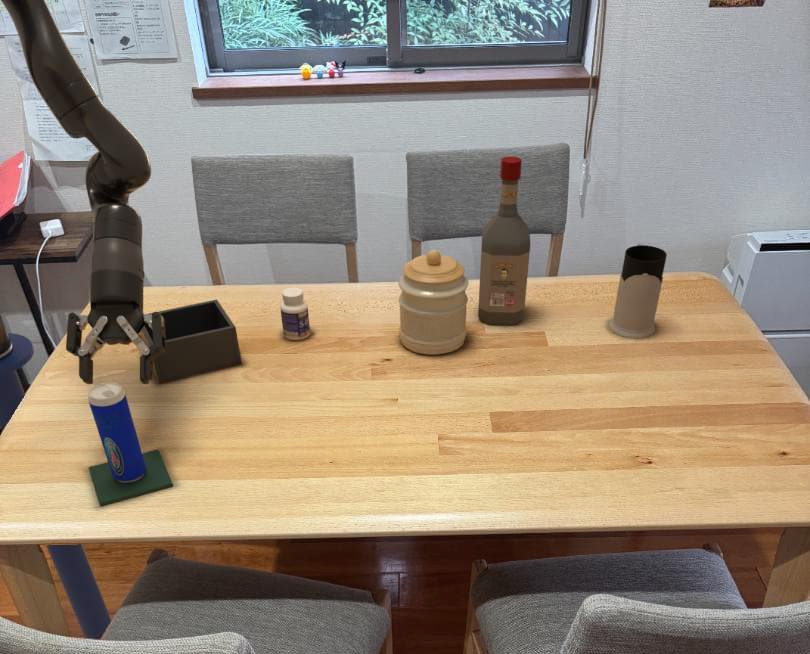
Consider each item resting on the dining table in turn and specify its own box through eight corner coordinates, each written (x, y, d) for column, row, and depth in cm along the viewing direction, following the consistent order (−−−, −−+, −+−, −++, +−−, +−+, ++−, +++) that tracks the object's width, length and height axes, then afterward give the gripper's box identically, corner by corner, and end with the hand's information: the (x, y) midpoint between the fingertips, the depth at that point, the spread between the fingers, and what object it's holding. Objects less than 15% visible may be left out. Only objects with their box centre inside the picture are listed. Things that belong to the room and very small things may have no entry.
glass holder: (610, 336, 157) (623, 261, 147) (606, 304, 168) (618, 232, 158) (656, 339, 156) (672, 263, 146) (649, 306, 167) (664, 233, 157)
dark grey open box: (158, 383, 147) (149, 345, 142) (144, 352, 155) (135, 316, 150) (241, 364, 152) (235, 326, 146) (223, 335, 160) (216, 299, 155)
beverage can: (106, 475, 126) (79, 391, 116) (135, 460, 128) (110, 377, 118) (124, 488, 123) (98, 404, 113) (153, 473, 126) (130, 389, 116)
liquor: (523, 326, 161) (537, 168, 141) (477, 325, 162) (485, 167, 142) (522, 305, 168) (536, 152, 148) (478, 304, 169) (486, 151, 148)
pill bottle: (305, 342, 158) (300, 299, 152) (279, 339, 158) (274, 296, 153) (314, 329, 161) (309, 287, 155) (289, 327, 162) (284, 284, 156)
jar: (475, 330, 160) (479, 242, 148) (452, 361, 151) (455, 270, 139) (414, 319, 164) (413, 232, 152) (389, 349, 155) (386, 259, 143)
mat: (100, 506, 121) (99, 503, 120) (89, 470, 128) (88, 467, 127) (173, 486, 124) (172, 483, 124) (158, 451, 131) (158, 448, 131)
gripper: (59, 267, 118) (57, 377, 117) (156, 266, 118) (155, 376, 117) (80, 286, 125) (79, 389, 125) (171, 285, 125) (171, 388, 124)
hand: (116, 383), depth 121 cm, fingers open, 8 cm apart
